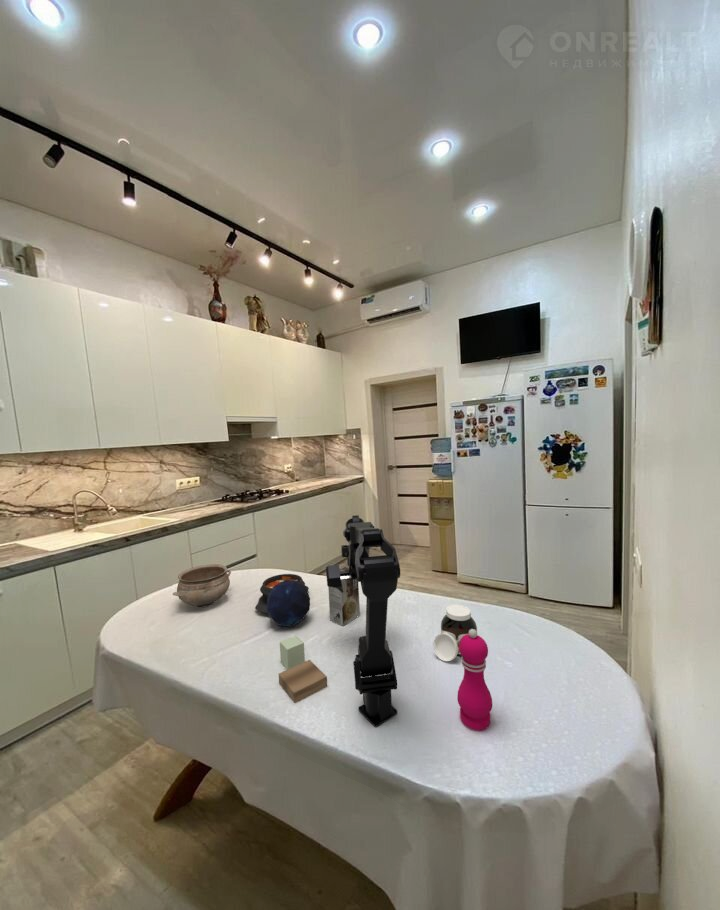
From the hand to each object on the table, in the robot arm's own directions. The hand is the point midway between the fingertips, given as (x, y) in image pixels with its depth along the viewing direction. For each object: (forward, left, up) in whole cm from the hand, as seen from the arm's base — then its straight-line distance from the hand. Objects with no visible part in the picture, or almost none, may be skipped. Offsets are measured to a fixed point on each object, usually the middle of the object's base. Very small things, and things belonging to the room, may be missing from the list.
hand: (357, 589), depth 111 cm
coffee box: (+12, -3, -15) cm, 20 cm away
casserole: (+38, +8, -15) cm, 42 cm away
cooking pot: (+58, +32, -15) cm, 68 cm away
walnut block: (-9, +24, -15) cm, 30 cm away
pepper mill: (-43, 0, -15) cm, 45 cm away
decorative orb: (+22, +13, -15) cm, 30 cm away
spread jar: (-25, -16, -15) cm, 33 cm away
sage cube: (+1, +22, -15) cm, 27 cm away
